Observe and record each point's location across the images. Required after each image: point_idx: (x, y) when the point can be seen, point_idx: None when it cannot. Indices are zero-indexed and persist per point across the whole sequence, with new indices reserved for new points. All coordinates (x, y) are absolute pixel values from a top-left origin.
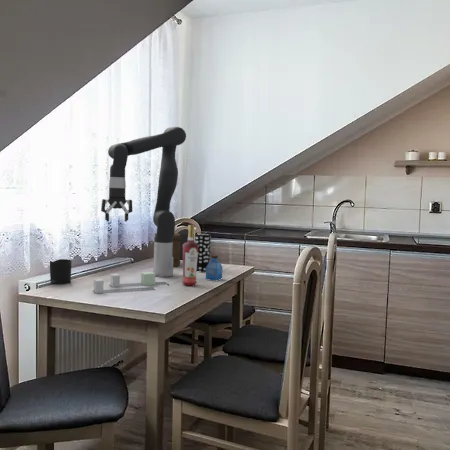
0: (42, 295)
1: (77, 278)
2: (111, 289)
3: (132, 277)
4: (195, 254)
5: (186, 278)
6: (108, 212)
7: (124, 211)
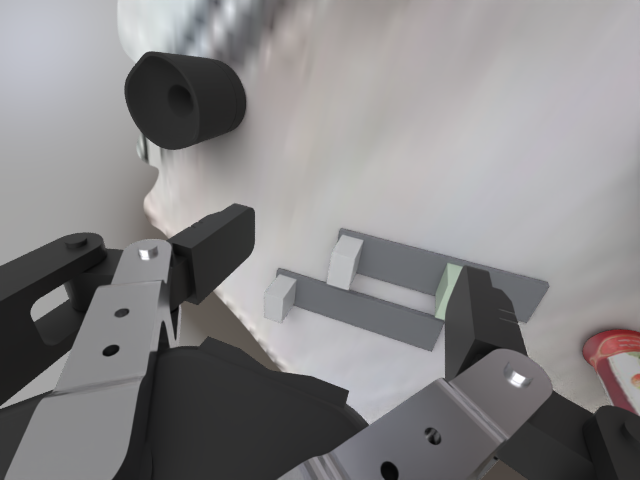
0: None
1: (280, 34)
2: (323, 285)
3: (514, 108)
4: None
5: (596, 371)
6: (177, 315)
7: (464, 379)
